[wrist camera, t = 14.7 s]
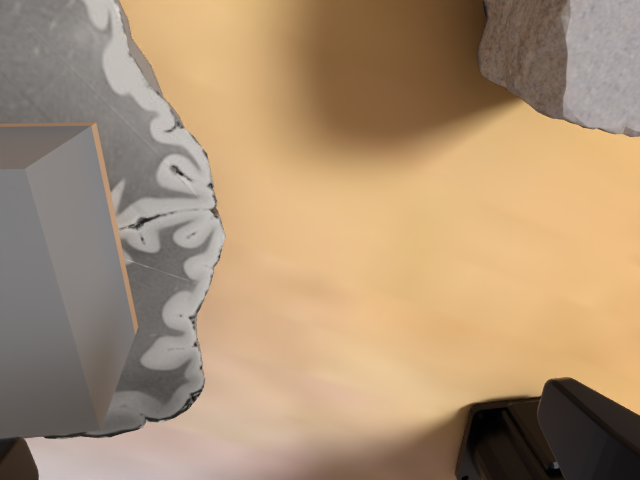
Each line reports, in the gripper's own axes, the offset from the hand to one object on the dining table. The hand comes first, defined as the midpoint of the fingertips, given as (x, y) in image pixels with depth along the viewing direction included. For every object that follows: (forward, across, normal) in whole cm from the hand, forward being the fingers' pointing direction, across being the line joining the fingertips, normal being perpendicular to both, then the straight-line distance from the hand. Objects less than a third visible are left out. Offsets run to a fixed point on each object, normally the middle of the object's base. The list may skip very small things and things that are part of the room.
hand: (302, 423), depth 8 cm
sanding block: (+10, +8, 0) cm, 12 cm away
